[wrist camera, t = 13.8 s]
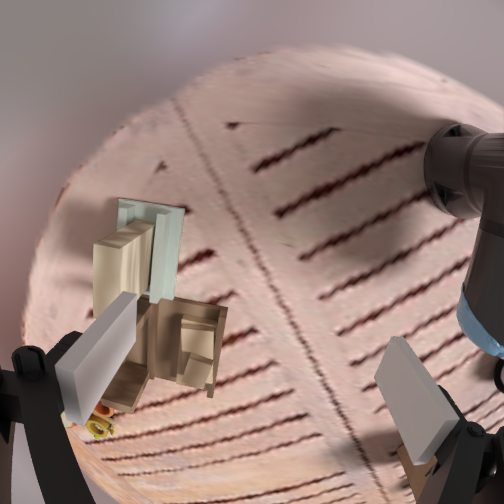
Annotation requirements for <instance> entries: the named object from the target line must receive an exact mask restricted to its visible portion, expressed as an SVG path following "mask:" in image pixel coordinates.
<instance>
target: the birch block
mask: <svg viewBox="0 0 504 504" xmlns="http://www.w3.org/2000/svg"><path fill="white" fill-rule="evenodd" d="M155 228H156V223H155V222H150V221H144V220H136V221H134V222H133V223H131V224H129V225H127V226H125V227H123V228H121V229H119V230H118V231H116V232H114V233H112V234H110V235H108V236H107V237H105V238H103V239H101V240H99V241H98V242H96V243H94V246H93V314H94V318H96V319H97V318H98V317H99V316H100V315H101V314H102V313H103V312H104V311H105V309H106V308H107V307H108V306H109V305H110V304H111V303H112V302H113V301H114V300H115V299H116V298H117V297H118V296H119V295H120V294H121V293H122V292H123V291H126V292H130V293H134V294H137V300H138V299H139V297H140V296H141V295H142V294H143V293H144V291H145V290H146V289H147V288H148V287H149V285H150V284H151V271H152V259H153V248H154V238H155Z"/></svg>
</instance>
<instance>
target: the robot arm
mask: <svg viewBox="0 0 504 504" xmlns="http://www.w3.org/2000/svg"><path fill="white" fill-rule="evenodd" d="M424 176H425V182H426V185H427V189H428V191H429V193H430V196H431V197H432V199H433V201H434V202H435V203H436V205H437V206H438V207H439V208H440V209H441V210H443V211H444V212H446V213H447V214H449V215H452V216H455V217H458V218H462V219H472V218H476V217H481V219H480V224H479V228H478V232H477V237H476V241H475V245H474V249H473V253H472V257H471V260H470V264H469V267H468V271H467V274H466V278H465V281H464V282H463V284H462V287H461V296H460V300H459V303H458V307H457V319H458V321H459V325H460V327H461V329H462V331H463V332H464V334H465V335H466V336H467V337H468V338H469V339H470V340H471V341H472V342H473V343H474V344H475V345H476V346H478V347H479V348H480V349H482V350H483V351H485V352H486V353H488V354H490V355H492V356H496V355H497V356H499V357H500V358H501V359H504V133H487V132H485V131H483V130H481V129H479V128H477V127H474V126H472V125H468V124H453V125H448V126H446V127H444V128H442V129H440V130H439V131H438V132H437V133H436V134H435V135H434V136H433V138H432V139H431V141H430V143H429V145H428V147H427V150H426V154H425V159H424ZM136 315H137V294H134V293H130V292H126V291H123V292H122V293H121V294H120V295H119V296H118V297H117V298H116V299H115V300H114V301H113V302H112V303H111V304H110V305H109V306H108V307H107V308H106V309H105V311H104V312H103V313H102V314H101V315H100V316H99V317H98V318H97V319H96V320H95V321H94V322H93V323H92V324H91V326H90V327H89V328H88V329H87V330H86V331H85V332H84V333H80V332H77V331H73V332H71V333H69V334H67V335H65V336H64V337H63V338H62V339H61V340H60V341H59V343H57V344H56V345H55V346H54V348H52V349H51V350H50V351H49V352H48V353H47V354H46V355H45V353H44V351H43V350H42V349H41V348H39V347H36V346H28V345H27V346H22V347H20V348H18V349H16V350H15V351H14V352H13V353H12V357H11V358H12V362H13V366H14V370H15V372H13V371H8V370H2V369H1V367H0V504H11V472H12V455H13V441H14V432H15V423H16V422H18V423H22V424H24V428H25V433H26V438H27V442H28V446H29V450H30V454H31V458H32V462H33V466H34V469H35V473H36V476H37V480H38V483H39V486H40V489H41V492H42V495H43V498H44V501H45V504H96V503H95V501H94V499H93V497H92V495H91V493H90V490H89V488H88V486H87V484H86V481H85V479H84V477H83V475H82V472H81V470H80V467H79V465H78V462H77V460H76V457H75V455H74V452H73V450H72V447H71V444H70V441H69V439H68V436H67V433H66V430H65V427H64V424H63V421H62V418H61V414H62V413H63V411H65V415H66V419H67V420H68V421H71V422H73V423H76V424H78V425H81V426H84V425H85V424H86V422H87V420H88V419H89V417H90V415H91V413H92V412H93V410H94V408H95V407H96V405H97V403H98V402H99V400H100V398H101V397H102V395H103V393H104V392H105V390H106V388H107V387H108V385H109V383H110V382H111V380H112V378H113V377H114V375H115V374H116V372H117V370H118V369H119V367H120V365H121V364H122V362H123V361H124V359H125V357H126V356H127V354H128V353H129V351H130V349H131V348H132V346H133V345H134V343H135V342H136ZM374 379H375V381H376V383H377V385H378V387H379V389H380V391H381V394H382V396H383V398H384V400H385V402H386V404H387V407H388V409H389V411H390V413H391V415H392V418H393V420H394V422H395V424H396V426H397V429H398V431H399V433H400V436H401V438H402V440H403V442H404V445H405V447H406V449H407V452H408V454H409V456H410V459H411V461H412V463H413V465H421V464H427V463H428V462H429V461H430V459H431V458H432V457H433V456H434V454H435V456H436V458H437V461H436V462H435V464H434V465H433V466H432V467H431V468H430V470H429V471H428V472H427V473H426V475H425V477H427V476H428V474H429V476H428V479H427V481H426V483H425V486H424V488H423V490H422V492H421V494H420V497H419V499H418V501H417V503H416V504H504V426H502V427H500V428H499V430H498V431H497V433H496V434H489V433H486V432H485V430H484V428H483V427H482V426H481V425H479V424H478V423H475V422H472V421H470V422H467V420H466V419H465V417H464V416H463V414H462V413H461V411H460V410H459V408H458V407H457V405H455V402H454V401H453V399H451V396H450V395H449V394H448V392H447V391H446V390H445V389H444V388H442V387H441V386H440V385H437V384H436V382H435V381H434V380H433V378H432V377H431V375H430V374H429V372H428V371H427V369H426V368H425V367H424V365H423V364H422V362H421V361H420V360H419V358H418V357H417V355H416V354H415V353H414V351H413V350H412V348H411V347H410V346H409V344H408V343H407V342H406V340H405V339H404V337H395V336H391V339H390V341H389V344H388V346H387V349H386V351H385V353H384V356H383V358H382V361H381V363H380V365H379V367H378V370H377V372H376V374H375V376H374ZM495 470H496V473H495V475H494V471H495Z"/></svg>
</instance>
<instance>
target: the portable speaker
mask: <svg viewBox="0 0 504 504" xmlns="http://www.w3.org/2000/svg"><path fill="white" fill-rule="evenodd" d="M494 382H495V385H496V387H497V389H498V390H500V391H501V392H502V393H504V359H501V360H500V361H499V362H498V364H497V366H496V369H495V373H494Z"/></svg>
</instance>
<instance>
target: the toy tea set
mask: <svg viewBox="0 0 504 504" xmlns="http://www.w3.org/2000/svg"><path fill="white" fill-rule="evenodd" d="M113 413H114V409H113V408H109V407H106V406H103V405H102V404H101V398H100V400H99V402H98V403H97V405H96V407H95V408H94V410H93V412H92V413H91V415H90V417H89V419H88V420H87V422H86V427H87V429H88V430H89V431H90V432H91V433H92V434H94V437H95V438H96V439H99V438H100V437H102V438H103V437H106V436H107V434H108V431H110V433H111V435H112V436H113V433H114V430H113V429H114V425H115V424H116V421H115V420H114V419H112V418H110V417H111V416H112V415H113ZM61 418H62V421H63V424H64V427H65V428H71V427H73V426H74V424H75V423H73V422H71V421H68V420H67V419H66V415H65V411H63V413H62V414H61Z"/></svg>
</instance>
